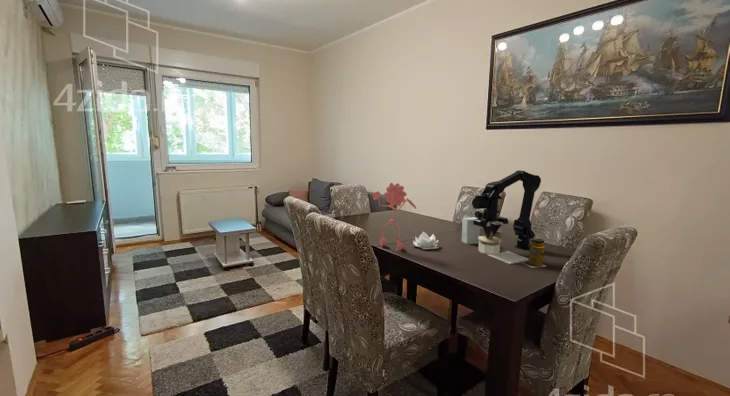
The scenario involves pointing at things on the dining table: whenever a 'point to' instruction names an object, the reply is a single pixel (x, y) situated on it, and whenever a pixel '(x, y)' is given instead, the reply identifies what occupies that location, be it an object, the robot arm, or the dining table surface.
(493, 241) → the lid
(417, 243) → the lotus flower
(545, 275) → the dining table surface
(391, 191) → the figurine
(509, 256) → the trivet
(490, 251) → the bowl
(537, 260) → the condiment
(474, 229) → the skincare box
